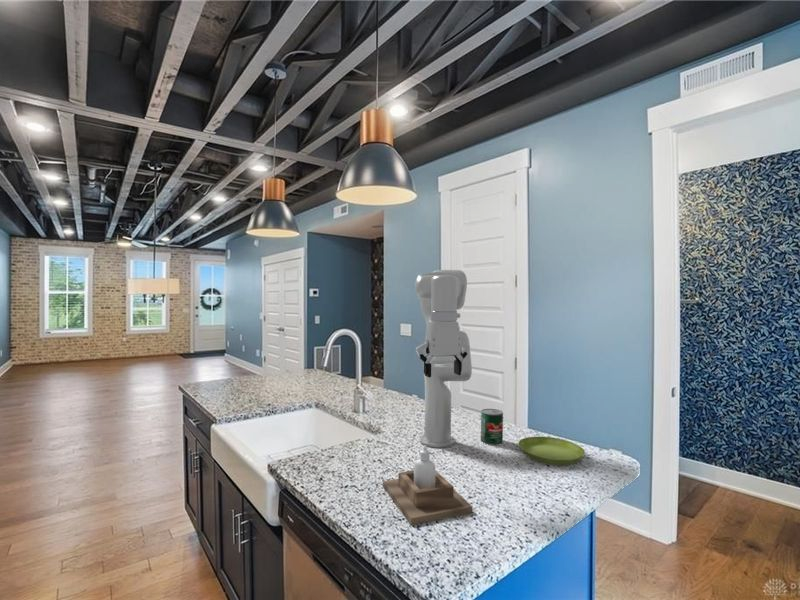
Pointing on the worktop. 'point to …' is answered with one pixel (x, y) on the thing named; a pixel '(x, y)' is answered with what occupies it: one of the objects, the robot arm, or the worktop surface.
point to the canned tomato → (492, 426)
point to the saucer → (551, 450)
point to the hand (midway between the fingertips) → (442, 375)
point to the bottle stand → (425, 499)
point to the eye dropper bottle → (424, 470)
